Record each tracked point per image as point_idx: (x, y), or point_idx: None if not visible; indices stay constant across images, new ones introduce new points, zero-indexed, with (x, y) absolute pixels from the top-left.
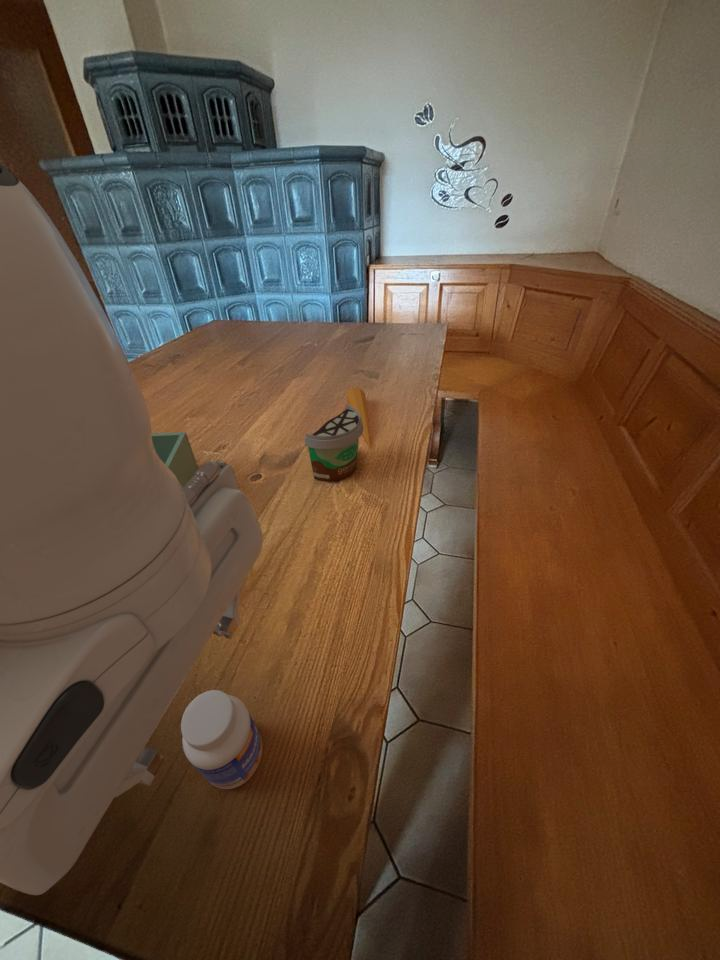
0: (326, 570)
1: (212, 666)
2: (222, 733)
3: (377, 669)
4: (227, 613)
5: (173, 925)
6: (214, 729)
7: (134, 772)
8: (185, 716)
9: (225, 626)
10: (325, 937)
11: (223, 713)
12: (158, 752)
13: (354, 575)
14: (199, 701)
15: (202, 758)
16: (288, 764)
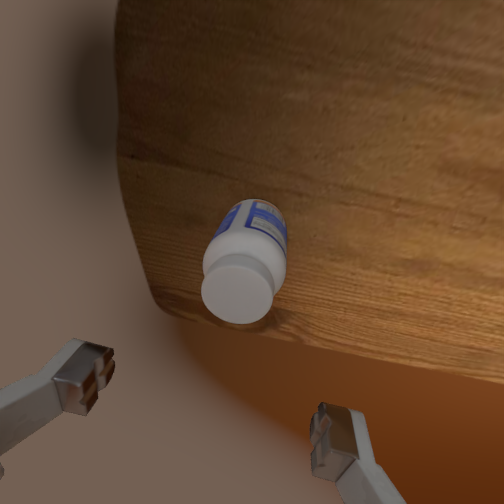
0: (499, 300)
1: (362, 168)
2: (218, 317)
3: (336, 344)
4: (346, 486)
5: (136, 209)
6: (221, 308)
7: (23, 437)
8: (232, 270)
9: (317, 472)
10: (160, 307)
11: (241, 315)
12: (91, 407)
13: (474, 331)
14: (254, 283)
15: (206, 271)
16: None
